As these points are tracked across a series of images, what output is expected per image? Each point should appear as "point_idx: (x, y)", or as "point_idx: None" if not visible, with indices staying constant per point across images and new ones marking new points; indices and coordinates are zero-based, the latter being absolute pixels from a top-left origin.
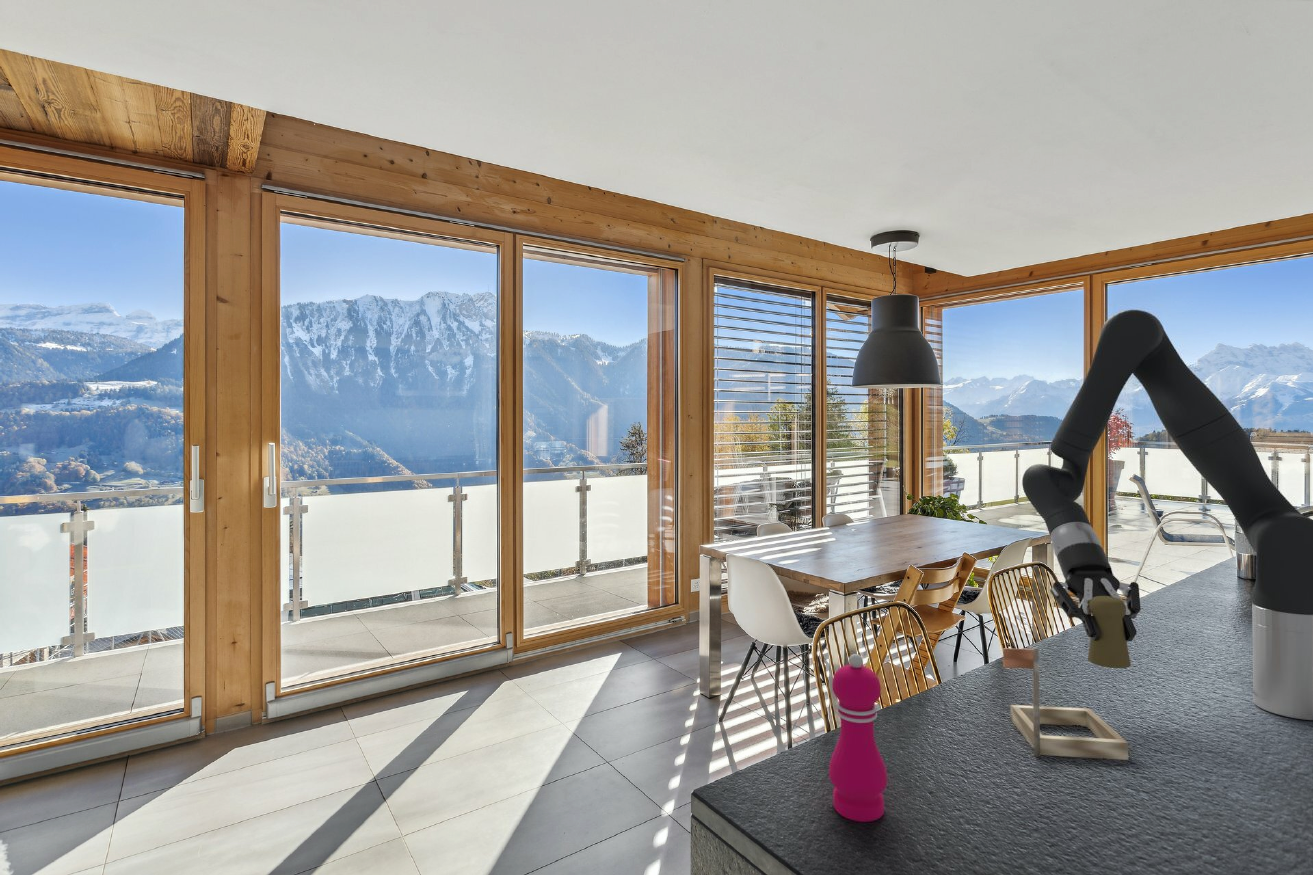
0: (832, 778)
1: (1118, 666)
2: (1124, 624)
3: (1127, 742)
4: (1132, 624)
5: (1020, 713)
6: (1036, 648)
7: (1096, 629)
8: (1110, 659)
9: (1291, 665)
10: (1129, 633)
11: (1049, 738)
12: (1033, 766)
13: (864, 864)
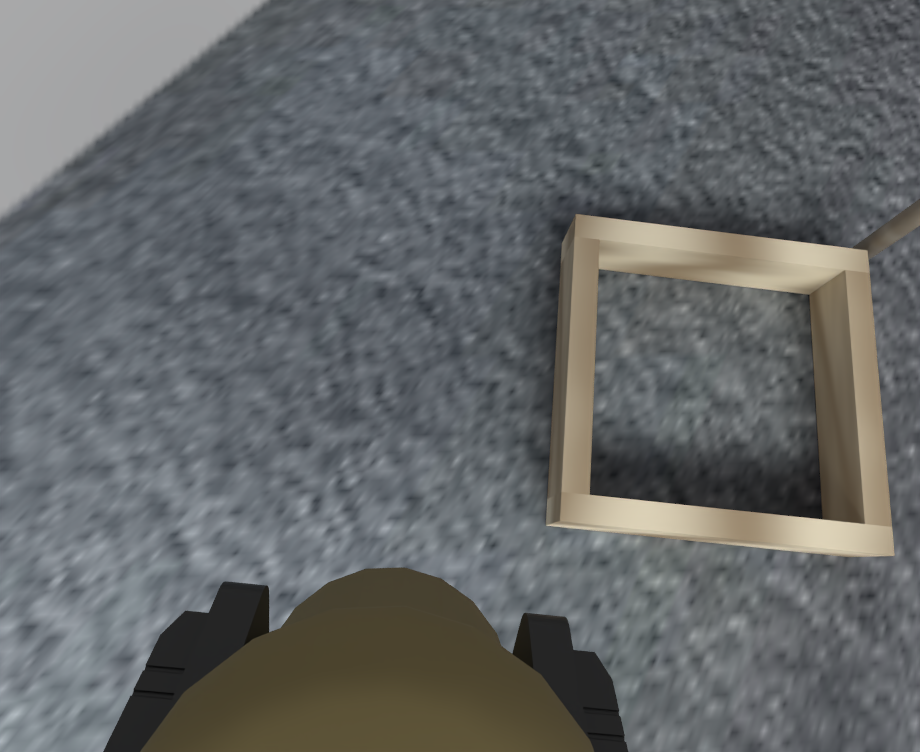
0: None
1: (395, 570)
2: None
3: (576, 217)
4: (138, 709)
5: (874, 460)
6: None
7: (558, 653)
8: (441, 585)
9: None
10: (262, 597)
11: (831, 246)
12: (867, 208)
13: None
